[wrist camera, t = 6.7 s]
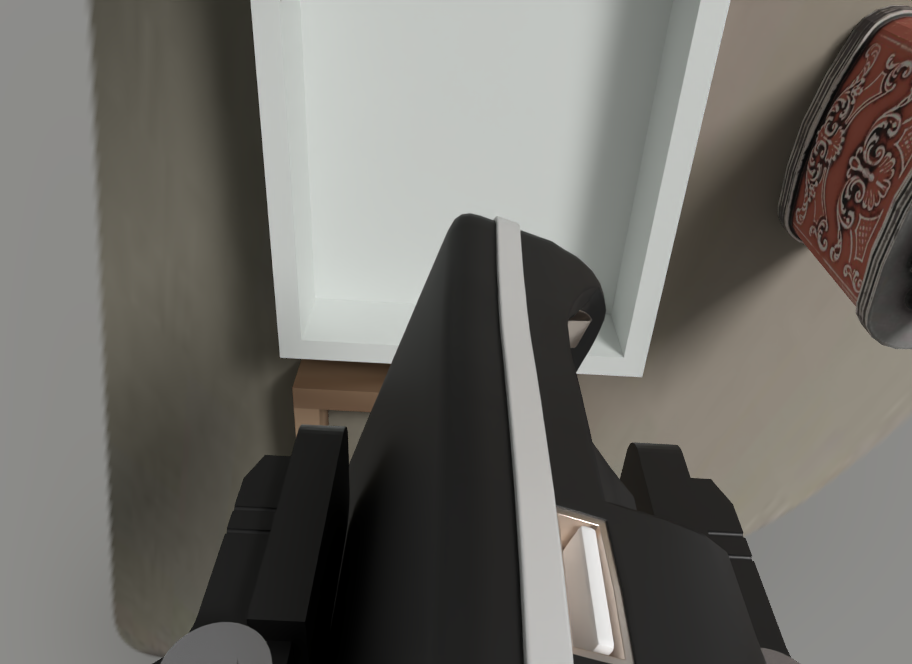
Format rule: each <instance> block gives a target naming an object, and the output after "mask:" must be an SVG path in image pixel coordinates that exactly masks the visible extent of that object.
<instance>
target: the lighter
mask: <svg viewBox="0 0 912 664" xmlns="http://www.w3.org/2000/svg"><path fill="white" fill-rule="evenodd" d="M778 218H779V220H780V222H781V224H782V225H783V227H784V228H785V229H786V230H787V232H788V233H789V234H790V235H791V236H792V237H793V238H794V239H796V240H797V241H798V242H800V243H803V244H805V245H806V246H807V247H808V249H809V250H810V251H811V252H812V254H813V255H814V256H815V257H816V258H817V260H818V261H819V262H820V263H821V264H822V266H823V267H824V268H825V269H826V271H827V272H828V273H829V274H830V275H831V277H832V278H833V279H834V280H835V282H836V283H837V284H838V285H839V286H840V288H841V289H842V290H843V291H844V293H845V294H846V295H847V296H848V297H849V299H850V300H851V301H852V302H853V304H854V305H855V306H856V314H857V316H858V318H859V321H860V323H861V324H862V325H863V327H864V328H865V329H866V330H867V332H868V333H869V334H870V335H871V337H873V338H874V339H875V340H876V341H878V342H879V343H880V344H882V345H885V346H888V347H891V348H894V349H912V7H909V6H906V5H890V6H887V7H884V8H880V9H877V10H875V11H874V12H872V13H870V14H869V15H867V16H866V17H864V18H863V19H862V20H861V21H860V23H859V24H858V25H857V26H856V27H855V28H854V30H853V31H852V33H851V35H850V36H849V38H848V39H847V41H846V43H845V44H844V46H843V47H842V49H841V51H840V52H839V54H838V55H837V57H836V59H835V60H834V62H833V63H832V65H831V67H830V68H829V70H828V71H827V73H826V75H825V77H824V79H823V81H822V83H821V85H820V87H819V89H818V91H817V93H816V95H815V97H814V99H813V101H812V103H811V105H810V107H809V109H808V111H807V113H806V115H805V117H804V119H803V121H802V124H801V127H800V129H799V132H798V135H797V138H796V141H795V144H794V147H793V150H792V152H791V155H790V158H789V161H788V164H787V167H786V172H785V176H784V181H783V185H782V190H781V194H780V199H779V203H778Z"/></svg>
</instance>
